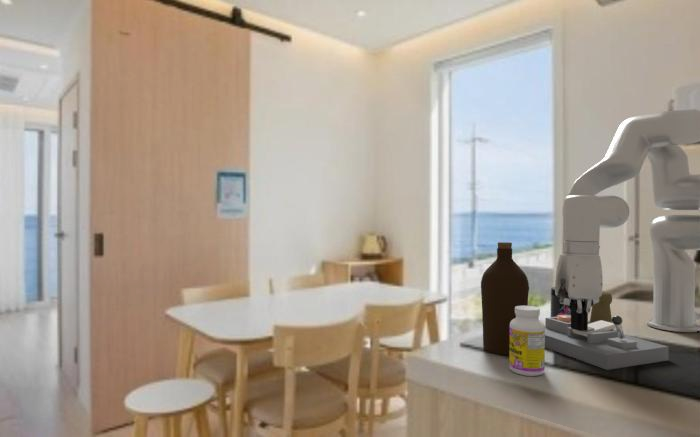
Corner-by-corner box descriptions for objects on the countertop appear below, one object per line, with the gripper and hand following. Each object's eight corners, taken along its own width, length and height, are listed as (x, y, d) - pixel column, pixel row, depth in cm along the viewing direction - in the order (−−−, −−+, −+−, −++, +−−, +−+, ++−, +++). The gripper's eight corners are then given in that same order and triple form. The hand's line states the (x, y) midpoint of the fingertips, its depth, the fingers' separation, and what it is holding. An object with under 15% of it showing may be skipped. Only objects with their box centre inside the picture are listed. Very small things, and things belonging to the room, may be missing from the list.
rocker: (601, 324, 111) (601, 318, 111) (616, 328, 107) (615, 322, 107) (573, 332, 108) (572, 326, 108) (587, 336, 104) (586, 331, 104)
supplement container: (549, 326, 131) (549, 289, 131) (550, 321, 137) (550, 286, 137) (576, 329, 128) (576, 291, 128) (576, 323, 134) (576, 288, 134)
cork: (617, 335, 121) (617, 293, 121) (592, 334, 122) (592, 292, 122) (609, 330, 127) (609, 290, 127) (585, 329, 128) (585, 289, 128)
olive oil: (503, 358, 101) (504, 244, 101) (471, 346, 111) (471, 241, 111) (538, 352, 106) (539, 243, 106) (504, 341, 115) (505, 240, 115)
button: (566, 326, 118) (566, 314, 118) (581, 330, 114) (581, 317, 114) (553, 327, 116) (553, 315, 116) (567, 331, 112) (567, 319, 112)
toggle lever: (620, 334, 102) (615, 313, 101) (628, 336, 100) (623, 315, 100) (614, 338, 101) (608, 317, 101) (622, 340, 100) (616, 319, 99)
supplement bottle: (503, 366, 96) (504, 304, 96) (534, 365, 97) (534, 304, 97) (518, 377, 89) (518, 311, 89) (551, 376, 90) (551, 310, 90)
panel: (578, 333, 123) (578, 313, 123) (668, 360, 100) (668, 335, 100) (523, 340, 116) (523, 318, 116) (607, 369, 94) (607, 342, 94)
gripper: (591, 248, 112) (589, 324, 112) (542, 248, 107) (540, 327, 107) (619, 250, 105) (617, 331, 105) (568, 250, 100) (566, 335, 100)
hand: (579, 329), depth 106 cm, fingers closed
